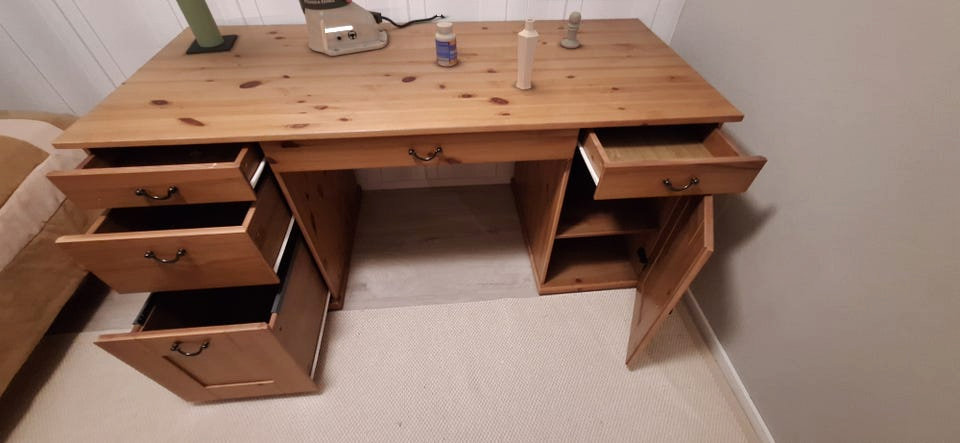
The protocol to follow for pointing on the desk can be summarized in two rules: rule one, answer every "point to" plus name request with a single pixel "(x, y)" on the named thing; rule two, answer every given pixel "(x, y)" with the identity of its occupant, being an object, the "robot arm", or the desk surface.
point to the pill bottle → (446, 44)
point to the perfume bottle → (526, 54)
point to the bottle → (201, 22)
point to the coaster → (222, 47)
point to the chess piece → (572, 31)
